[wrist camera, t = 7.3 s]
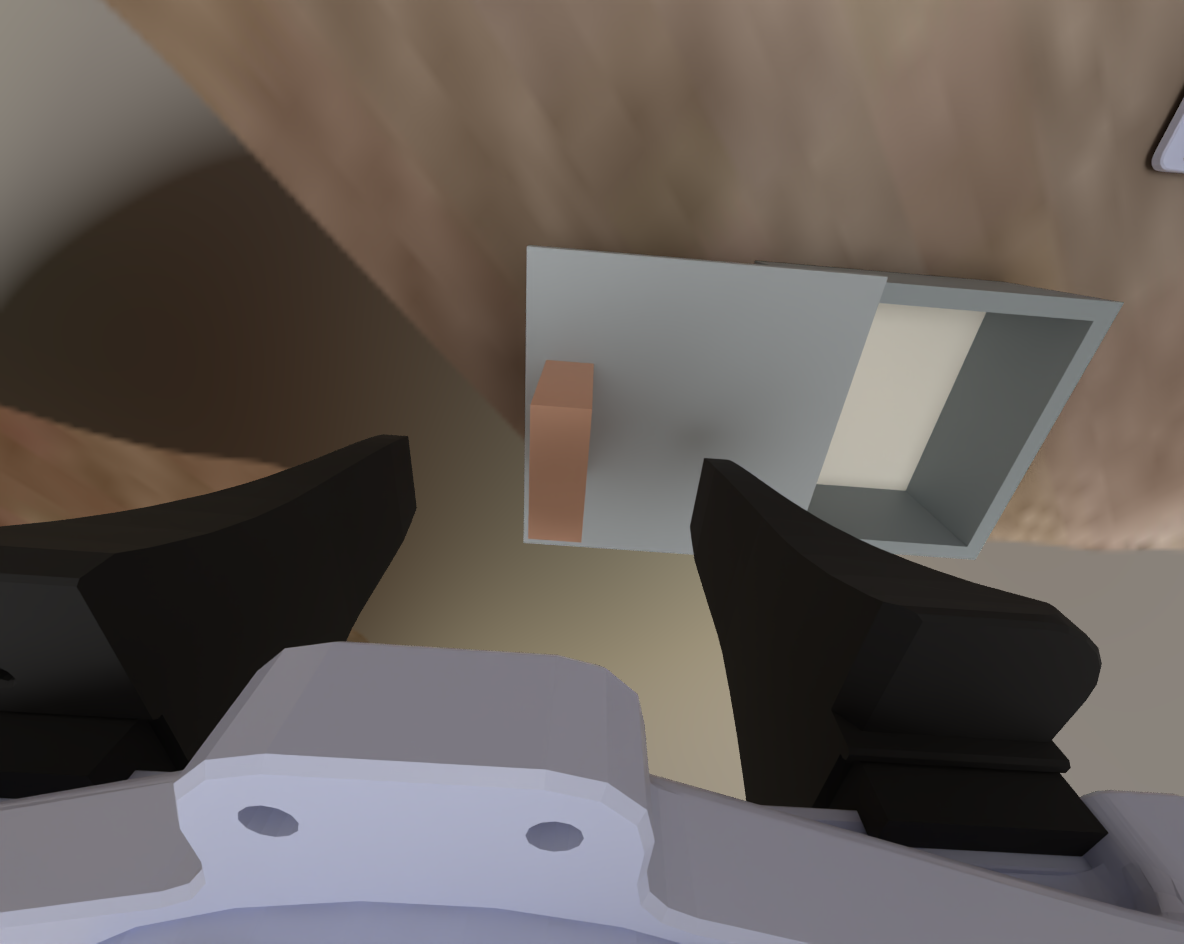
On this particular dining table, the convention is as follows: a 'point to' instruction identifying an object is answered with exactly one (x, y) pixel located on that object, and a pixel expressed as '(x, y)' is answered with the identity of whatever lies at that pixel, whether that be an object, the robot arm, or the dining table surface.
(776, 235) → the dining table surface
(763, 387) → the lid
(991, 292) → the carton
